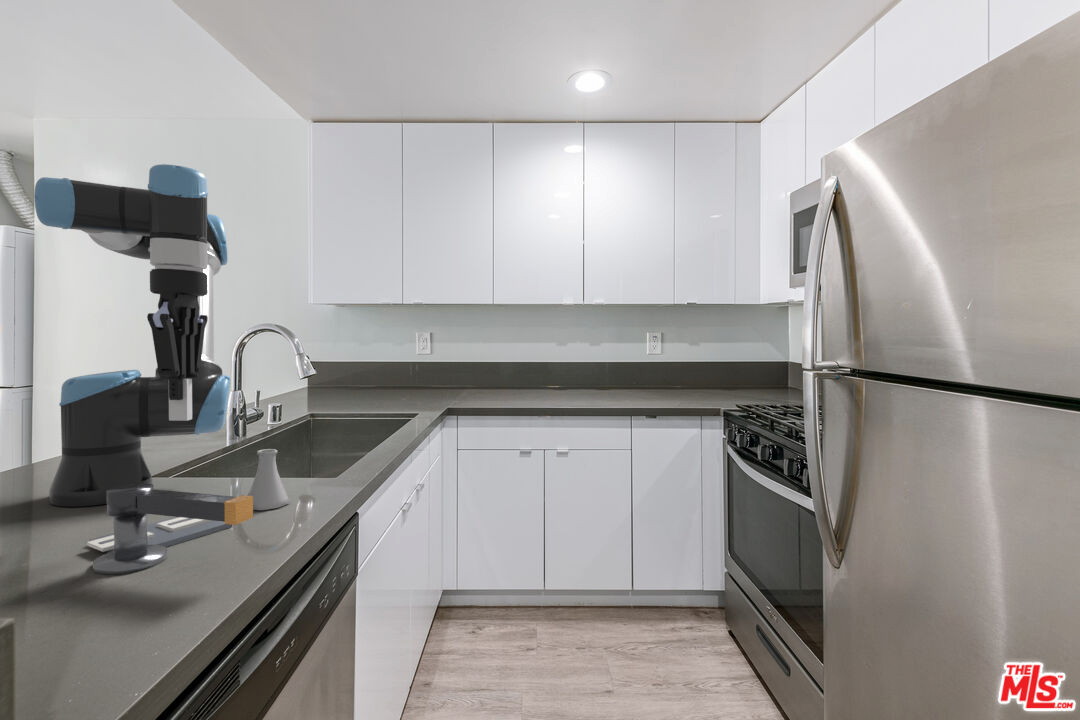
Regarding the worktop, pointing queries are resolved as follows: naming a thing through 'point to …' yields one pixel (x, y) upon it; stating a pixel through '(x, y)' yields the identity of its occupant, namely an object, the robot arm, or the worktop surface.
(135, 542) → the round pedestal stand
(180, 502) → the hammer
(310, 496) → the worktop surface
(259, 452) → the flask
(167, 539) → the label board
